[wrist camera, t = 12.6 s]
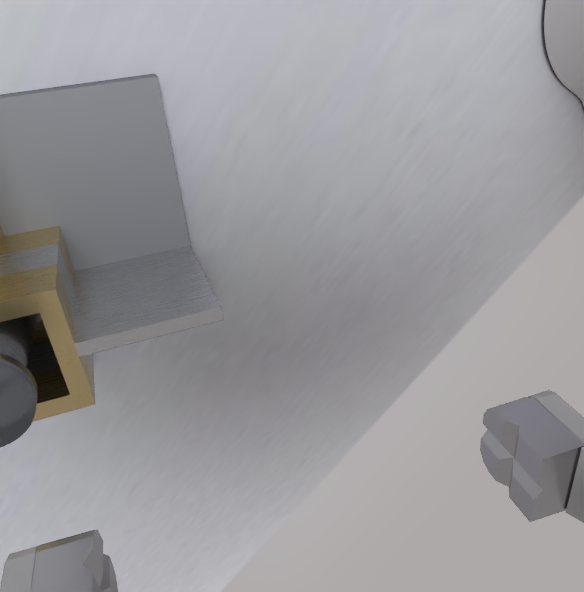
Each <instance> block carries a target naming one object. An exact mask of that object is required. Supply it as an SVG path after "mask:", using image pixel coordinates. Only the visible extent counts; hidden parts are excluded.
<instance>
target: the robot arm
mask: <svg viewBox="0 0 584 592" xmlns="http://www.w3.org/2000/svg"><path fill="white" fill-rule="evenodd" d="M544 34H545V44H546V49H547V53H548V57H549V60H550V63H551V66H552V68H553V70H554V72H555V74H556V75H557V77H558V78H559V80H560V81H561V82H562V83H563V84H564V85H565V86H566V87H567V88H568V89H569V90H570V91H572V92H573V93H574V94H576V95H577V96H578V97H579V98H580V100H581V101H582V104H583V106H584V0H546V5H545V15H544ZM483 424H484V425H485V426H486V428H487V429H488V430H487V431H486V432H485V434H484V435H483V437H482V438H481V448H480V451H481V454H482V458H483V462H484V463H485V466H486V467H487V469H488V471H489V473H490V474H491V475H492V476H493V478H494V479H495V480H496V481H498V482H500V483H502V484H504V485H507V486H509V497H510V499H511V500H512V501H513V502H514V503H515V505H516V506H517V507H518V508H519V509H520V511H521V512H522V513H523V514H524V515H525V516H526V518H527V519H528V520H529V521H530V522H531V521H534V520H537V519H540V518H543V517H546V516H550V515H552V514H556V513H559V512H562V511H565V510H566V513H568V514H569V515H571V516H573V517H575V518H576V519H578V520H580V521H582V522H584V417H583V416H582V415H581V414H580V413H578V412H577V411H576V410H575V409H574V408H572V407H571V406H570V405H569V404H568V403H566V401H564V400H563V399H562V398H561V397H560V396H559V395H557V394H556V393H554V392H552V391H549V390H548V391H545V392H541V393H539V394H535V395H532V396H529V397H524V398H521V399H518V400H515V401H512V402H509V403H505V404H502V405H499V406H496V407H493V408H490V409H487V411H486V412H485V414H484V417H483ZM0 592H118V588H117V581H116V575H115V571H114V567H113V564H112V562H111V559H110V557H109V556H108V555H105V554H103V540H102V538H101V536H100V534H99V532H98V530H92V531H89V532H85V533H81V534H78V535H74V536H71V537H67V538H64V539H60V540H56V541H53V542H49V543H46V544H42V545H39V546H36V547H33V548H29V549H26V550H22V551H19V552H15V553H12V554H9V556H8V558H7V560H6V562H5V564H4V569H3V575H2V581H1V586H0Z"/></svg>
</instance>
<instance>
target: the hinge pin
mask: <svg viewBox="0 0 584 592" xmlns="http://www.w3.org/2000/svg"><path fill="white" fill-rule="evenodd" d="M36 317H37V314H32V315H28V316H24V317H20V318H15V319H11V320H7V321H2V322H0V447H3V446H5V445H7V444H9V443H11V442H13V441H15V440H16V439H17V438H19V437H20V436H21V435H22V434H23V433H24V432H25V431H26V430H27V429H28V428H29V426H30V425H31V423H32V421H33V419H34V416H35V411H36V405H37V398H38V389H37V384H36V381H35V379H34V377H33V375H32V374H31V372H30V371H29V370H28V369H27V368H26V366H27V361H28V356H29V351H30V346H31V341H32V336H33V332H34V327H35V322H36Z"/></svg>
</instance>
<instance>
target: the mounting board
mask: <svg viewBox="0 0 584 592" xmlns="http://www.w3.org/2000/svg"><path fill="white" fill-rule="evenodd" d="M0 224H1V227H2V230H3V232H4V235H5V236H8V235H13V234H18V233H23V232H28V231H33V230H38V229H43V228H48V227H53V226H58V225H60V228H61V231H62V234H63V237H64V240H65V243H66V247H67V250H68V253H69V256H70V259H71V262H72V265H73V268H74V271H75V270H80V269H84V268H89V267H93V266H98V265H103V264H107V263H112V262H116V261H121V260H126V259H130V258H135V257H139V256H144V255H149V254H153V253H158V252H162V251H167V250H171V249H176V248H181V247H185V246H190V245H191V244H190V239H189V234H188V229H187V224H186V219H185V213H184V208H183V203H182V198H181V193H180V188H179V183H178V178H177V173H176V168H175V163H174V158H173V153H172V148H171V143H170V137H169V132H168V127H167V122H166V117H165V112H164V107H163V102H162V97H161V92H160V87H159V82H158V77H157V76H156V75H155V74H149V75H142V76H135V77H127V78H120V79H113V80H105V81H98V82H91V83H83V84H76V85H69V86H61V87H54V88H46V89H39V90H32V91H24V92H17V93H10V94H2V95H0ZM41 320H42V318H41V315H40V313H37V317H36V322H37V321H41Z"/></svg>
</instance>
